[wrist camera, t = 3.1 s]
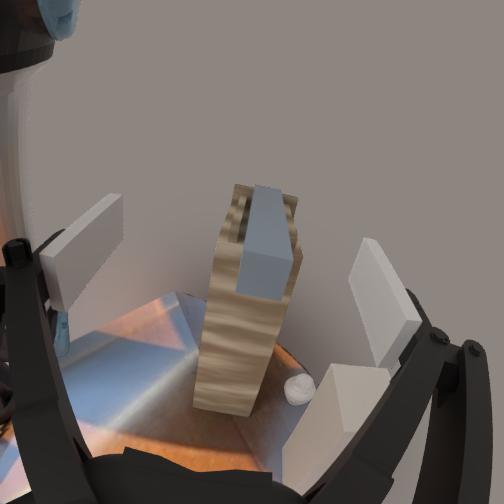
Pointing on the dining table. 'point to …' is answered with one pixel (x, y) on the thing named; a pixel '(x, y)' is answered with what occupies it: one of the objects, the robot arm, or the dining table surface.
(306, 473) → the white block
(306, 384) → the muffin
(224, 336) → the tall open-topped box
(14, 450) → the dining table surface
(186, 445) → the dining table surface
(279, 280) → the blue-grey bar
